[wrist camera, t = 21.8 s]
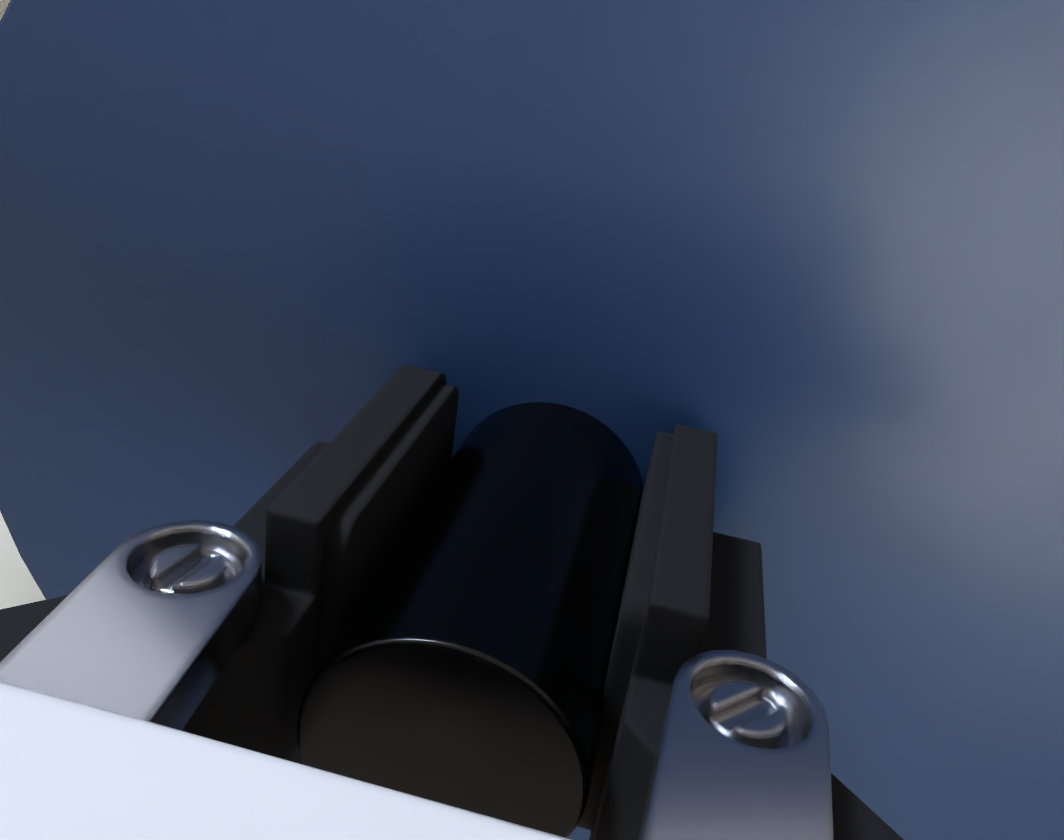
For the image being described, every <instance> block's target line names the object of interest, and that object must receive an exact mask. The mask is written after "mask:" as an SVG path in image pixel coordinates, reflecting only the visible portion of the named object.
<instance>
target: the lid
mask: <svg viewBox="0 0 1064 840" xmlns="http://www.w3.org/2000/svg"><path fill="white" fill-rule="evenodd" d="M404 365H408V366H412V367H417V368H422V369H426V370H431V371H435V372H440V373H444V374H445V375H446V380H447V385H450V386H454V387H457V388H458V391H459V397H458V407H457V416H456V424H455V432H454V441H453V449H452V458H451V461H450V463H449V464H448V466H447V467H446V469H445V471H444V472H443V474H442V475H441V477H440V478H439V480H438V482H437V483H436V485H435V486H434V488H433V489H432V491H431V492H430V494H429V496H428V497H427V499H426V500H425V502H424V503H423V505H422V507H421V508H420V510H419V511H418V513H417V514H416V516H415V518H414V519H413V521H412V522H411V524H410V525H409V527H408V528H407V530H406V532H405V533H404V535H403V536H402V538H401V539H400V541H399V543H398V544H397V546H396V547H395V549H394V550H393V552H392V554H391V555H390V557H389V558H388V560H387V561H386V563H385V565H384V566H383V568H382V569H381V571H380V572H379V574H378V575H377V577H376V579H375V580H374V582H373V583H372V585H371V586H370V588H369V590H368V591H367V593H366V594H365V596H364V597H363V599H362V601H361V602H360V604H359V605H358V607H357V608H356V610H355V611H354V613H353V615H352V616H351V618H350V619H349V621H348V622H347V624H346V626H345V627H344V629H343V630H342V632H341V633H340V635H339V637H338V638H337V640H336V641H335V643H334V644H333V646H332V648H331V649H330V651H329V652H328V654H327V655H326V657H325V658H324V660H323V662H322V663H321V665H320V666H319V668H318V669H317V671H316V673H315V674H314V676H313V677H312V679H311V680H310V682H309V684H308V686H307V688H306V690H305V692H304V694H303V696H302V699H301V703H300V706H299V711H298V719H297V741H298V746H299V751H300V756H301V758H302V761H303V764H304V765H306V766H310V767H313V768H317V769H320V770H324V771H327V772H331V773H335V774H338V775H342V776H345V777H349V778H353V779H356V780H360V781H363V782H367V783H370V784H374V785H378V786H381V787H385V788H388V789H392V790H396V791H399V792H403V793H406V794H410V795H413V796H417V797H421V798H424V799H428V800H431V801H435V802H438V803H442V804H446V805H449V806H453V807H456V808H460V809H464V810H467V811H471V812H474V813H478V814H481V815H485V816H489V817H492V818H496V819H499V820H503V821H507V822H510V823H514V824H517V825H521V826H524V827H528V828H532V829H535V830H539V831H542V832H546V833H550V834H553V835H557V836H560V837H564V838H567V839H571V840H589V838H590V833H591V830H588V829H584V828H580V827H577V825H578V823H579V821H580V819H581V818H582V816H583V813H584V810H585V807H586V804H587V801H588V796H589V790H590V785H591V780H592V774H593V769H594V764H595V758H596V753H597V748H598V743H599V737H600V732H601V726H602V719H603V700H602V696H603V691H604V686H605V681H606V676H607V671H608V666H609V661H610V656H611V651H612V645H613V640H614V635H615V630H616V625H617V620H618V615H619V610H620V605H621V600H622V595H623V590H624V585H625V580H626V574H627V569H628V564H629V559H630V554H631V549H632V544H633V539H634V534H635V529H636V524H637V519H638V514H639V508H640V503H641V499H642V494H643V490H644V485H645V481H646V477H647V472H648V468H649V464H650V459H651V455H652V451H653V446H654V442H655V438H656V433H657V431H660V432H664V433H669V434H673V431H674V428H675V425H676V424H679V425H684V426H688V427H693V428H697V429H702V430H707V431H711V432H716V433H717V458H716V479H715V501H714V523H713V532H716V533H720V534H725V535H729V536H733V537H738V538H742V539H746V540H751V541H755V542H759V543H760V544H761V549H762V568H763V590H764V611H765V633H766V654H767V659H768V660H770V661H773V662H775V663H777V664H779V665H781V666H782V667H784V668H786V669H787V670H789V671H790V672H792V673H794V674H795V675H797V676H798V677H799V678H800V679H801V680H802V681H803V682H804V683H805V684H807V685H808V686H809V687H810V688H811V689H812V690H813V691H814V693H815V694H816V696H817V697H818V699H819V700H820V702H821V703H822V705H823V706H824V708H825V711H826V715H827V719H828V723H829V735H830V761H831V773H832V774H833V775H834V776H835V777H836V778H837V779H838V780H840V781H841V782H842V783H843V784H844V785H845V786H846V787H847V788H848V789H849V790H850V791H852V792H853V793H854V794H855V795H856V796H857V797H858V798H859V799H860V800H861V801H862V802H863V803H865V804H866V805H867V806H868V807H869V808H870V809H871V810H872V811H873V812H874V813H875V814H877V815H878V816H879V817H880V818H881V819H882V820H883V821H884V822H885V823H886V824H887V825H888V826H890V827H891V828H892V829H893V830H894V831H895V832H896V833H897V834H898V835H899V836H900V837H902V838H903V839H904V840H1064V0H11V1H10V3H9V5H8V7H7V9H6V11H5V13H4V15H3V17H2V19H1V21H0V511H1V513H2V516H3V518H4V520H5V522H6V524H7V527H8V529H9V531H10V533H11V536H12V538H13V540H14V542H15V544H16V547H17V549H18V551H19V553H20V555H21V557H22V559H23V561H24V562H25V564H26V566H27V568H28V569H29V571H30V573H31V574H32V576H33V578H34V580H35V581H36V583H37V585H38V586H39V588H40V590H41V592H42V593H43V595H44V597H45V598H46V600H48V599H53V598H57V597H62V596H67V595H69V594H70V593H71V592H72V591H73V590H74V589H75V588H76V587H77V586H78V585H79V584H80V583H81V582H82V581H83V580H84V579H85V578H86V577H87V576H89V575H90V574H91V573H92V572H93V571H94V570H95V569H96V568H97V567H98V566H99V565H100V564H101V563H102V562H103V561H104V560H105V559H106V558H107V557H108V556H109V555H110V554H111V553H112V552H113V551H114V550H115V549H116V548H117V547H118V546H119V545H120V544H122V543H123V542H125V541H126V540H127V539H129V538H130V537H131V536H133V535H134V534H136V533H139V532H141V531H143V530H146V529H148V528H151V527H153V526H157V525H161V524H166V523H170V522H175V521H189V520H203V521H212V522H220V523H224V524H227V525H230V526H234V525H235V524H236V523H237V522H238V521H239V520H240V519H241V518H242V517H243V516H244V514H245V513H246V512H247V511H248V510H249V509H250V508H251V507H252V506H253V505H254V504H255V503H256V502H257V501H258V500H259V499H260V498H261V497H262V496H263V495H264V494H265V493H266V492H267V491H268V490H269V489H270V488H271V487H272V486H273V485H274V484H275V483H276V482H277V481H278V480H279V479H280V478H281V477H282V476H283V475H284V474H285V473H286V472H287V471H288V470H289V469H290V468H291V467H292V466H293V465H294V464H295V463H296V462H297V461H298V460H299V459H300V458H301V457H302V455H303V454H304V453H305V452H306V451H307V450H308V449H309V448H310V447H311V446H312V445H314V444H315V443H317V442H318V441H320V442H327V443H330V442H331V441H332V439H333V438H334V437H335V436H336V435H337V434H338V433H339V432H340V431H341V430H342V429H343V428H344V427H345V426H346V425H347V424H348V423H349V422H350V421H351V419H352V418H353V417H354V416H355V415H356V414H357V413H358V412H359V411H360V410H361V409H362V408H363V407H364V406H365V405H366V404H367V403H368V402H369V401H370V399H371V398H372V397H373V396H374V395H375V394H376V393H377V392H378V391H379V390H380V389H381V388H382V387H383V386H384V385H385V384H386V383H387V382H388V381H389V379H390V378H391V377H392V376H393V375H394V374H395V373H396V372H397V371H398V370H399V369H400V368H401V367H402V366H404Z"/></svg>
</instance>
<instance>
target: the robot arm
mask: <svg viewBox="0 0 1064 840" xmlns="http://www.w3.org/2000/svg"><path fill="white" fill-rule="evenodd" d="M458 397H459V391H458V388H457V387H454V386H450V385H447V380H446V375H445V374H444V373H440V372H435V371H431V370H426V369H422V368H417V367H412V366H408V365H404V366H402V367H401V368H400V369H399V370H398V371H397V372H396V373H395V374H394V375H393V376H392V377H391V378H390V379H389V381H388V382H387V383H386V384H385V385H384V386H383V387H382V388H381V389H380V390H379V391H378V392H377V393H376V394H375V395H374V396H373V397H372V398H371V399H370V401H369V402H368V403H367V404H366V405H365V406H364V407H363V408H362V409H361V410H360V411H359V412H358V413H357V414H356V415H355V416H354V417H353V418H352V419H351V421H350V422H349V423H348V424H347V425H346V426H345V427H344V428H343V429H342V430H341V431H340V432H339V433H338V434H337V435H336V436H335V437H334V438H333V439H332V441H331V442H330V443H327V442H320V441H318V442H317V443H315V444H314V445H312V446H311V447H310V448H309V449H308V450H307V451H306V452H305V453H304V454H303V455H302V457H301V458H300V459H299V460H298V461H297V462H296V463H295V464H294V465H293V466H292V467H291V468H290V469H289V470H288V471H287V472H286V473H285V474H284V475H283V476H282V477H281V478H280V479H279V480H278V481H277V482H276V483H275V484H274V485H273V486H272V487H271V488H270V489H269V490H268V491H267V492H266V493H265V494H264V495H263V496H262V497H261V498H260V499H259V500H258V501H257V502H256V503H255V504H254V505H253V506H252V507H251V508H250V509H249V510H248V511H247V512H246V513H245V514H244V516H243V517H242V518H241V519H240V520H239V521H238V522H237V523H236V524H235V525H234V526H230V525H227V524H224V523H220V522H212V521H203V520H189V521H175V522H170V523H166V524H161V525H157V526H153V527H151V528H148V529H146V530H143V531H141V532H139V533H136V534H134V535H133V536H131V537H130V538H129V539H127V540H126V541H125V542H123V543H122V544H120V545H119V546H118V547H117V548H116V549H115V550H114V551H113V552H112V553H111V554H110V555H109V556H108V557H107V558H106V559H105V560H104V561H103V562H102V563H101V564H100V565H99V566H98V567H97V568H96V569H95V570H94V571H93V572H92V573H91V574H90V575H89V576H87V577H86V578H85V579H84V580H83V581H82V582H81V583H80V584H79V585H78V586H77V587H76V588H75V589H74V590H73V591H72V592H71V593H70V594H69V595H67V596H62V597H57V598H53V599H48V600H43V601H39V602H34V603H29V604H25V605H20V606H15V607H11V608H6V609H1V610H0V840H571V839H567V838H564V837H560V836H557V835H553V834H550V833H546V832H542V831H539V830H535V829H532V828H528V827H524V826H521V825H517V824H514V823H510V822H507V821H503V820H499V819H496V818H492V817H489V816H485V815H481V814H478V813H474V812H471V811H467V810H464V809H460V808H456V807H453V806H449V805H446V804H442V803H438V802H435V801H431V800H428V799H424V798H421V797H417V796H413V795H410V794H406V793H403V792H399V791H396V790H392V789H388V788H385V787H381V786H378V785H374V784H370V783H367V782H363V781H360V780H356V779H353V778H349V777H345V776H342V775H338V774H335V773H331V772H327V771H324V770H320V769H317V768H313V767H310V766H306V765H304V764H303V761H302V758H301V756H300V751H299V746H298V741H297V719H298V711H299V706H300V703H301V699H302V696H303V694H304V692H305V690H306V688H307V686H308V684H309V682H310V680H311V679H312V677H313V676H314V674H315V673H316V671H317V669H318V668H319V666H320V665H321V663H322V662H323V660H324V658H325V657H326V655H327V654H328V652H329V651H330V649H331V648H332V646H333V644H334V643H335V641H336V640H337V638H338V637H339V635H340V633H341V632H342V630H343V629H344V627H345V626H346V624H347V622H348V621H349V619H350V618H351V616H352V615H353V613H354V611H355V610H356V608H357V607H358V605H359V604H360V602H361V601H362V599H363V597H364V596H365V594H366V593H367V591H368V590H369V588H370V586H371V585H372V583H373V582H374V580H375V579H376V577H377V575H378V574H379V572H380V571H381V569H382V568H383V566H384V565H385V563H386V561H387V560H388V558H389V557H390V555H391V554H392V552H393V550H394V549H395V547H396V546H397V544H398V543H399V541H400V539H401V538H402V536H403V535H404V533H405V532H406V530H407V528H408V527H409V525H410V524H411V522H412V521H413V519H414V518H415V516H416V514H417V513H418V511H419V510H420V508H421V507H422V505H423V503H424V502H425V500H426V499H427V497H428V496H429V494H430V492H431V491H432V489H433V488H434V486H435V485H436V483H437V482H438V480H439V478H440V477H441V475H442V474H443V472H444V471H445V469H446V467H447V466H448V464H449V463H450V461H451V458H452V449H453V441H454V432H455V424H456V416H457V407H458ZM716 458H717V433H716V432H711V431H707V430H702V429H697V428H693V427H688V426H684V425H679V424H676V425H675V428H674V431H673V434H669V433H664V432H660V431H657V433H656V438H655V442H654V446H653V451H652V455H651V459H650V464H649V468H648V472H647V477H646V481H645V485H644V490H643V494H642V499H641V503H640V508H639V514H638V519H637V524H636V529H635V534H634V539H633V544H632V549H631V554H630V559H629V564H628V569H627V574H626V580H625V585H624V590H623V595H622V600H621V605H620V610H619V615H618V620H617V625H616V630H615V635H614V640H613V645H612V651H611V656H610V661H609V666H608V671H607V676H606V681H605V686H604V691H603V696H602V700H603V719H602V726H601V732H600V737H599V743H598V748H597V753H596V758H595V764H594V769H593V774H592V780H591V785H590V790H589V796H588V801H587V804H586V807H585V810H584V813H583V816H582V818H581V819H580V821H579V823H578V825H577V827H580V828H584V829H588V830H591V833H590V838H589V840H904V839H903V838H902V837H900V836H899V835H898V834H897V833H896V832H895V831H894V830H893V829H892V828H891V827H890V826H888V825H887V824H886V823H885V822H884V821H883V820H882V819H881V818H880V817H879V816H878V815H877V814H875V813H874V812H873V811H872V810H871V809H870V808H869V807H868V806H867V805H866V804H865V803H863V802H862V801H861V800H860V799H859V798H858V797H857V796H856V795H855V794H854V793H853V792H852V791H850V790H849V789H848V788H847V787H846V786H845V785H844V784H843V783H842V782H841V781H840V780H838V779H837V778H836V777H835V776H834V775H833V774H832V773H831V761H830V735H829V723H828V719H827V715H826V711H825V708H824V706H823V705H822V703H821V702H820V700H819V699H818V697H817V696H816V694H815V693H814V691H813V690H812V689H811V688H810V687H809V686H808V685H807V684H805V683H804V682H803V681H802V680H801V679H800V678H799V677H798V676H797V675H795V674H794V673H792V672H790V671H789V670H787V669H786V668H784V667H782V666H781V665H779V664H777V663H775V662H773V661H770V660H768V659H767V654H766V633H765V611H764V590H763V568H762V549H761V544H760V543H759V542H755V541H751V540H746V539H742V538H738V537H733V536H729V535H725V534H720V533H716V532H713V523H714V501H715V479H716Z"/></svg>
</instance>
